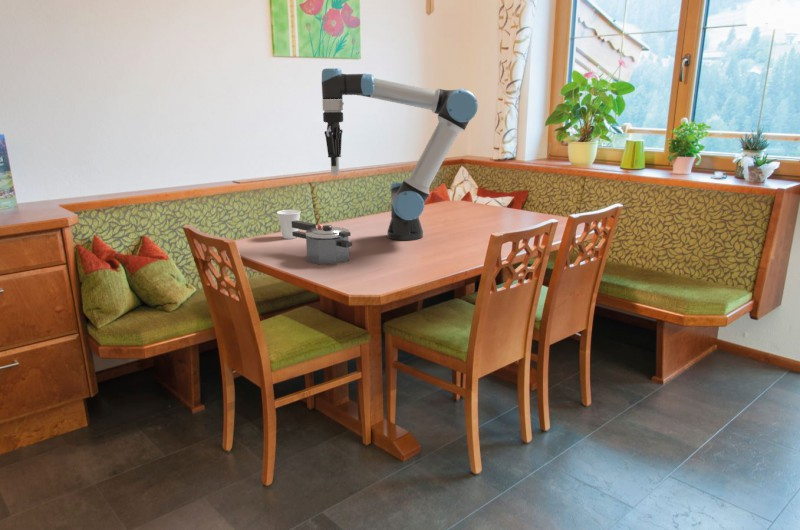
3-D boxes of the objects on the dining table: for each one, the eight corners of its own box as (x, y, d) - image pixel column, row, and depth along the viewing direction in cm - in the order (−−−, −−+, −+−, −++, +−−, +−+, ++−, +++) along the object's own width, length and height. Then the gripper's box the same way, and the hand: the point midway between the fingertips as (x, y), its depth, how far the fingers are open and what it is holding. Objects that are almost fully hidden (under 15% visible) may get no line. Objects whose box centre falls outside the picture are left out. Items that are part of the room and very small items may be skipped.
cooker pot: (364, 259, 221) (363, 235, 218) (334, 268, 210) (333, 243, 207) (310, 247, 239) (309, 225, 237) (280, 255, 228) (279, 231, 226)
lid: (363, 234, 218) (363, 226, 217) (331, 242, 207) (330, 233, 206) (310, 224, 237) (309, 216, 236) (278, 230, 226) (277, 222, 225)
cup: (297, 240, 251) (295, 214, 248) (274, 239, 253) (272, 213, 250) (305, 235, 260) (304, 210, 257) (283, 234, 262) (282, 209, 259)
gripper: (336, 111, 221) (338, 176, 227) (348, 111, 233) (350, 172, 239) (316, 112, 223) (319, 176, 229) (330, 111, 235) (332, 172, 241)
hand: (335, 174), depth 234 cm, fingers closed
